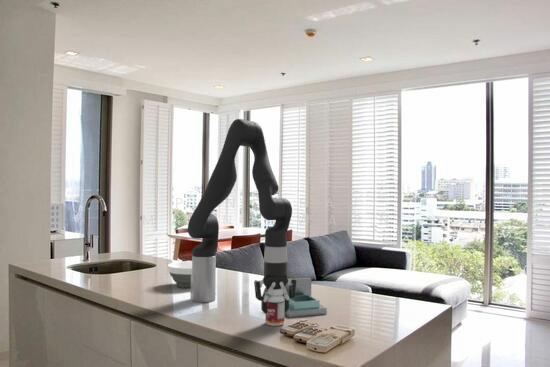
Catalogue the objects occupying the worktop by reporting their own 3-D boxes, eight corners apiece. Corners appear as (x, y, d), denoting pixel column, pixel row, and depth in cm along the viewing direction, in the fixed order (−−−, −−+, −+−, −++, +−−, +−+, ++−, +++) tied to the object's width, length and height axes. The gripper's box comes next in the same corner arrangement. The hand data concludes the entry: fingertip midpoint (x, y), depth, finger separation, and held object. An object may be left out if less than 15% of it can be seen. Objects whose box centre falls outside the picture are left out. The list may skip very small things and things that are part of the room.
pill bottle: (261, 323, 141) (261, 288, 141) (273, 319, 145) (274, 285, 146) (276, 327, 137) (276, 291, 137) (288, 323, 141) (288, 288, 142)
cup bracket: (289, 317, 148) (289, 287, 148) (275, 307, 161) (275, 279, 162) (326, 313, 153) (326, 285, 153) (309, 304, 166) (310, 277, 166)
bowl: (158, 288, 192) (158, 266, 192) (183, 280, 210) (183, 260, 210) (196, 292, 185) (196, 269, 185) (219, 283, 203) (219, 262, 203)
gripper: (257, 262, 136) (257, 317, 135) (300, 260, 141) (300, 313, 140) (250, 259, 143) (250, 311, 142) (291, 257, 148) (291, 307, 147)
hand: (275, 312), depth 141 cm, fingers closed on pill bottle, 6 cm apart
